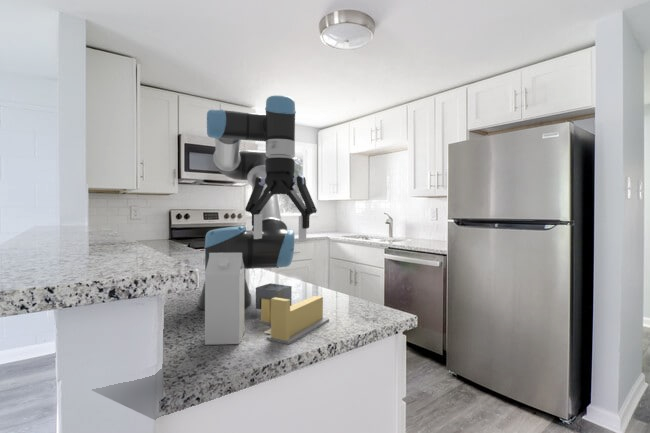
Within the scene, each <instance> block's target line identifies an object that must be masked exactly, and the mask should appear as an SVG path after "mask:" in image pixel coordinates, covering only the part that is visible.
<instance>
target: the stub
mask: <svg viewBox="0 0 650 433" xmlns="http://www.w3.org/2000/svg"><path fill="white" fill-rule="evenodd" d="M260 314H261V315H260V317H258V318H255V319H253V321H252V323H253V324H254V323H255V324H259V325H264V326H269V327H271V300H269V299H263V298H262V299H261V310H260Z"/></svg>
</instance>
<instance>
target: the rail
mask: <svg viewBox="0 0 650 433" xmlns="http://www.w3.org/2000/svg"><path fill="white" fill-rule="evenodd" d="M323 309H324V297H323V296H318V295H313V296H311V297H308V298H306V299H304V300H302V301H298V302H297V303H294V304H291V306H290V300H289V299H283V298H276V297H275V298H272V299H271V326H270V329H271V334H268V335H267V336H266V340H269V341H273V342H276V343H280V344H286V345H292V343H294V342H296V341H298V340H299V339H301V338H303V337H305V336H307V335H308V334H310V333H311V332H313V331H314V330H316V329H318V328H320V327H321V326H323V325H324V324H326V323H328V322H329V321H330V319H329V318H327V317H323V316H324V310H323Z"/></svg>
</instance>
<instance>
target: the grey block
mask: <svg viewBox="0 0 650 433" xmlns="http://www.w3.org/2000/svg"><path fill="white" fill-rule="evenodd" d="M292 288H293V287H292V286H291V285H285V284H278V283H266V284H262V285H260V286H257V287H255V309H256V310H259V311H261V299H262V298H263V299H269V300H271V299H272V298H275V297H276V298H283V299H289V300H290V306H291V305H292V300H293V299H292V296H293V293H292Z"/></svg>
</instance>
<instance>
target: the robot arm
mask: <svg viewBox="0 0 650 433" xmlns="http://www.w3.org/2000/svg"><path fill="white" fill-rule="evenodd" d="M266 98H267V99H266V100H265V108H264V110H265V113H261V112H260V113H259V112H258V113H257V112H247V111H238V110H237V111H235V110H224V109H209V110H208V111H207V112H206V134H207V136H208V137H209V138H211V139H214V143H215V145H214V146H215V150H214V152H213V155H212V156H213V157H212V160H213V165H214V166H215V168H216V169H217V171H218V172H220V174H223V175H224V176H225V177H227V178H230V179H233V180H236V181H237V180H238V181H247V182H248V184H249V186H251V190H252V191H251V194H250V197H249V199H248V200H247V201H248V202H246V203H247V204H246V206H245V208H244V210H245V212H248V213H250V214H251V226H252V228H251V230H247V227H246V226H245V225H236V226H228V227H220V228H214V229H210V230H208V231H207V232H206V234H205V237H204V238H205V241H204V250H205V252H204V260H205V261H204V273H205V272H206V268H207V264H208V260H209V253H242V259H243V263H244V309H245V308H248V307H249V306H251V304H252V294H251V293H250V289H249V287H248V282H247V279H246V270H248V269H249V270H250V269H251V270H253V269H272V268H273V269H274V268H275V269H279V268H288V267H289V266H290V265H291V264H292V262H293V259H294V252H295V231H294V230H293V229H288V226H287V224H286V223H285V222H284V221H283V220H282V217H281V210H280V205H279V199H278V198H279V196H278V195H287V196H288V198H289V199H290V200H291V202H292V203H293V204H294V205H295V207H296V209H297V210H298V211H299V213H300V214H301V215H298V243H305V242H307V229H309V228H310V216H311V215H314V214H316V213H317V211H318V210H317V208H316V205H315V203H314V200H313V198H312V196H311V194H310V191H309V189H308V187H307V182H306V181H307V180H306V177H305V176H301V175H298V176H295V172H296V171H295V170H296V169H295V168H296V167H295V166H296V164H295V163H296V160H295V159H294V158H295V155H296V144H295V143H296V135H295V134H296V113H297V112H296V102H295V100H294V98H292V97H290V96H288V95H287V96H286V95H281V94H278V95H277V94H275V95H270V96H268V97H266ZM242 141H252V142H253V141H256V142H265V150H249V149H240V147H241V142H242ZM294 185H296V186H297V189H298V191H299V193H300V196H301V197H299V195H298V193H297V191H296V189H295V188H294ZM301 198H302V199H301ZM198 308H199V309H200V310H203V311H205V281H204V282H203V286H202V289H201V292H200V296H199V297H198Z"/></svg>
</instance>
